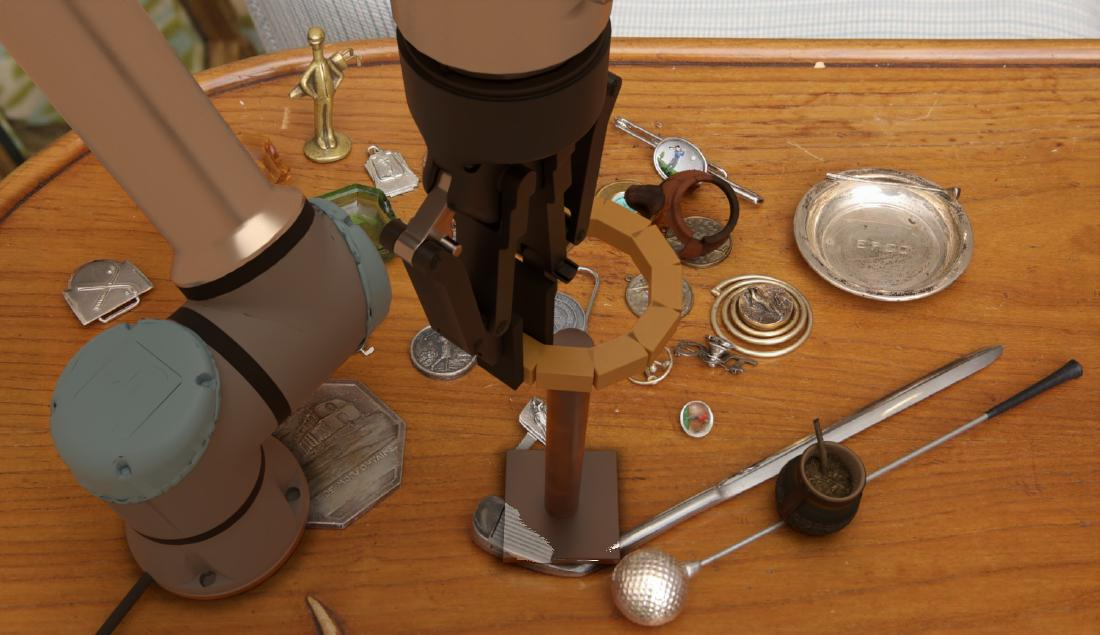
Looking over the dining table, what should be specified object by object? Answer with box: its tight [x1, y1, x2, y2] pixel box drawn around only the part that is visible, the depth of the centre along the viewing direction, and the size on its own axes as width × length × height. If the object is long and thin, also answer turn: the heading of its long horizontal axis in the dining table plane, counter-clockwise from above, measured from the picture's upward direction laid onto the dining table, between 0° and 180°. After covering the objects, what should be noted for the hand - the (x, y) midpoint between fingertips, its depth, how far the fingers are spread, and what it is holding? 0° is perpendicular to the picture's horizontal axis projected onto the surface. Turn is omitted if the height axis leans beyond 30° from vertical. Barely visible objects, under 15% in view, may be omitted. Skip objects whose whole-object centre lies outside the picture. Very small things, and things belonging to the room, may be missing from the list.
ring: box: [515, 196, 684, 393], centre depth 53 cm, size 13×13×2 cm
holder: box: [502, 327, 621, 565], centre depth 70 cm, size 10×10×28 cm
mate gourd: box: [774, 417, 868, 538], centre depth 78 cm, size 7×8×10 cm
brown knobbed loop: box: [623, 169, 741, 260], centre depth 97 cm, size 12×10×8 cm
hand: (515, 356), depth 51 cm, fingers closed on ring, 2 cm apart
